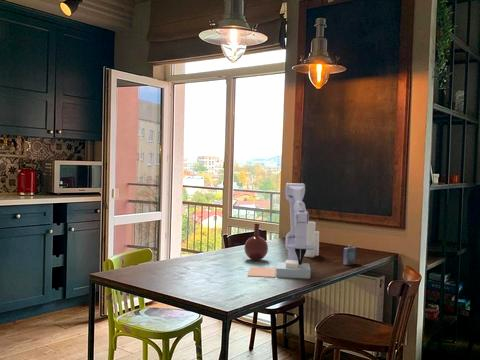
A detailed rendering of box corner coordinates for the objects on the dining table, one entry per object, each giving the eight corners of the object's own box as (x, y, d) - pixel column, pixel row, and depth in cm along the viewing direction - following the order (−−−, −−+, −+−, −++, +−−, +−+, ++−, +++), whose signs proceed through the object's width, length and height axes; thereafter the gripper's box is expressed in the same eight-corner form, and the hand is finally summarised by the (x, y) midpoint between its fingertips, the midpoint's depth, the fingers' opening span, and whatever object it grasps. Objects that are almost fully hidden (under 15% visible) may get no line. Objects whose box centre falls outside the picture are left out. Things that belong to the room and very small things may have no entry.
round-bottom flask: (252, 256, 275) (253, 222, 274) (272, 259, 268) (273, 224, 267) (239, 260, 264) (240, 224, 263) (259, 263, 257) (260, 226, 256)
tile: (285, 263, 238) (285, 259, 238) (297, 264, 238) (297, 260, 238) (285, 267, 230) (285, 263, 230) (298, 267, 230) (298, 263, 230)
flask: (345, 265, 258) (346, 245, 258) (341, 264, 260) (342, 244, 260) (356, 263, 264) (357, 244, 264) (352, 262, 266) (352, 243, 266)
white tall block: (311, 257, 277) (312, 223, 276) (300, 256, 281) (301, 222, 280) (319, 254, 287) (321, 221, 286) (308, 253, 291) (310, 220, 290)
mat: (250, 268, 245) (250, 267, 245) (275, 269, 244) (275, 268, 244) (247, 276, 227) (247, 275, 227) (275, 277, 226) (275, 276, 226)
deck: (276, 269, 242) (277, 262, 242) (308, 271, 241) (309, 263, 241) (276, 276, 227) (276, 268, 227) (310, 278, 226) (310, 270, 226)
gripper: (285, 237, 230) (285, 265, 230) (316, 238, 229) (315, 266, 229) (285, 235, 237) (285, 262, 237) (315, 236, 236) (314, 263, 236)
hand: (300, 264), depth 234 cm, fingers closed
